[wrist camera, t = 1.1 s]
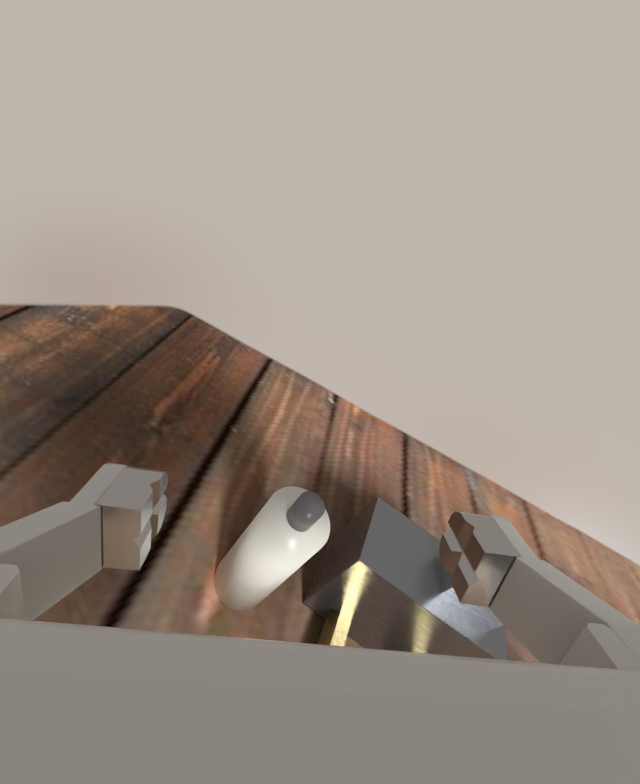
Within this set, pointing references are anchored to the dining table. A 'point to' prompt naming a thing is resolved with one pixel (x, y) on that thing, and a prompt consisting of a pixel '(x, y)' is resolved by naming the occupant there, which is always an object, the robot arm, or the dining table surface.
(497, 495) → the dining table surface
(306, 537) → the white bottle
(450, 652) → the motor
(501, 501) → the dining table surface
